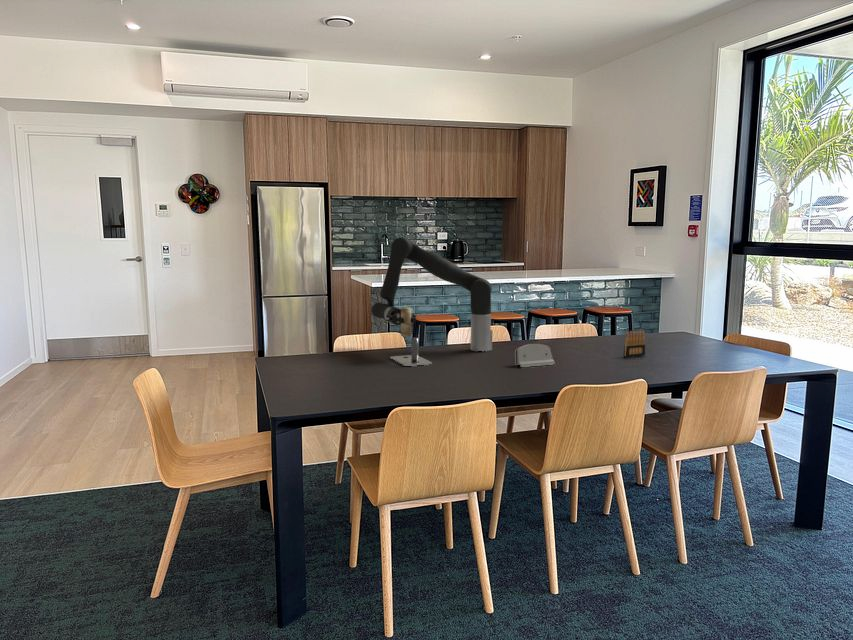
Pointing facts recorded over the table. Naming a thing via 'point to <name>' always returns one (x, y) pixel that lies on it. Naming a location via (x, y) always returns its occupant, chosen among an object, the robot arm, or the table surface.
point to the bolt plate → (408, 361)
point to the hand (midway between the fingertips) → (408, 320)
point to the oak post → (406, 322)
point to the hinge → (533, 355)
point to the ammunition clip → (634, 344)
